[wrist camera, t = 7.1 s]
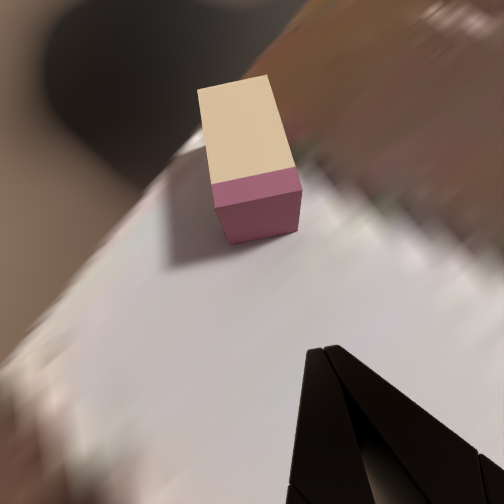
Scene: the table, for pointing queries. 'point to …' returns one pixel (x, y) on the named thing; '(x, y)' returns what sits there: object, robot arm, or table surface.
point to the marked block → (249, 161)
